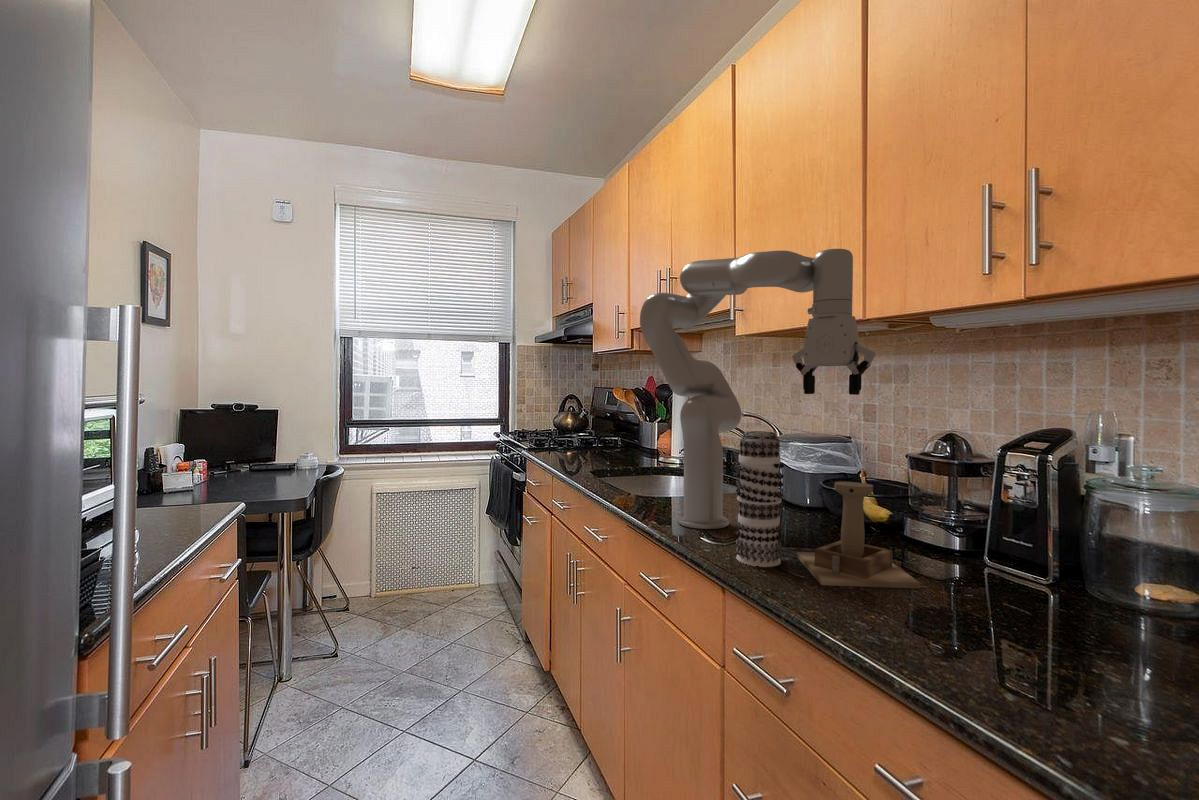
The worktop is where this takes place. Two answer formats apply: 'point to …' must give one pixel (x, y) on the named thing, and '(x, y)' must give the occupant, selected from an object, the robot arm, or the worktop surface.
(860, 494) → the handle
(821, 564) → the socket plate
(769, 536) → the decorative candle
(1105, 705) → the worktop surface
